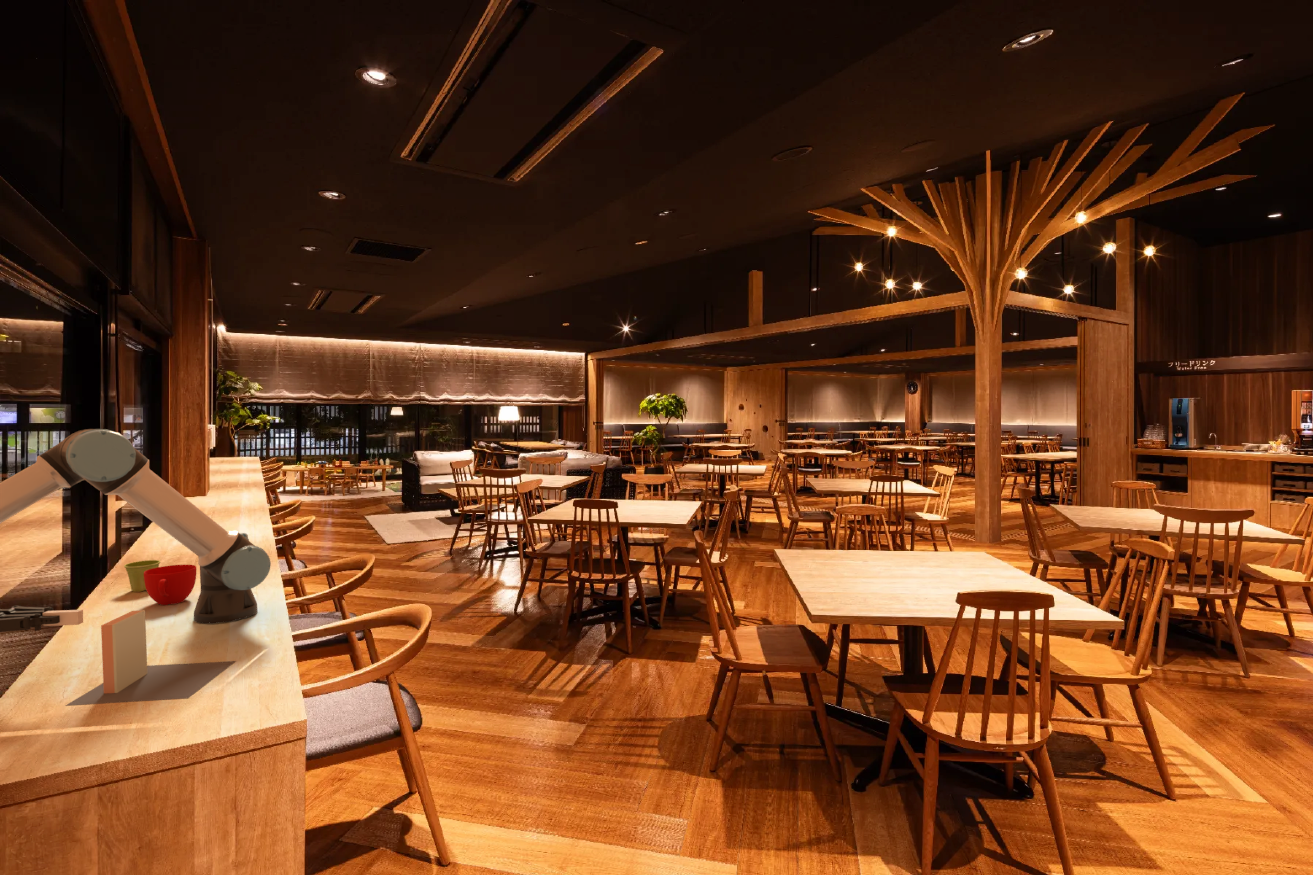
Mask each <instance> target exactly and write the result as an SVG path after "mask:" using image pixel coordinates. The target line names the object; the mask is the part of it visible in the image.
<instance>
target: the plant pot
mask: <svg viewBox="0 0 1313 875" xmlns="http://www.w3.org/2000/svg"><path fill="white" fill-rule="evenodd" d="M160 563H161V560H158V559H149V560H137V561H132V562H129V563H125V564H124V565H123V567H124V568H125V570H126V573H127V577H128V580H129V585H130V589H131V591H132V592H134V593H141V592H143V591H147V590H146V587H145V582H144V572H145V571H147V570H149V569H153V568H157V567H160Z"/></svg>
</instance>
